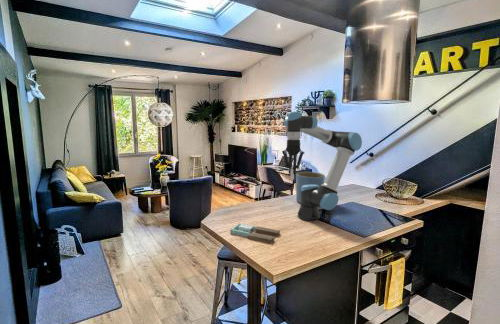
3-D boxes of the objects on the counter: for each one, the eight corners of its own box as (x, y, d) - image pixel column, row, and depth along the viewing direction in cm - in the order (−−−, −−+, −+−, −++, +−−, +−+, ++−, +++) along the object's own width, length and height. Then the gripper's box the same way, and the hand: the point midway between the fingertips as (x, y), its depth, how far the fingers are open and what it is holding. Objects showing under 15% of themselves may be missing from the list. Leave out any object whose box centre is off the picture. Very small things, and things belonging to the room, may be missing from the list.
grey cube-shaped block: (241, 230, 163) (241, 224, 162) (247, 231, 161) (247, 225, 160) (238, 232, 159) (238, 226, 158) (244, 234, 157) (244, 227, 157)
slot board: (257, 231, 164) (257, 226, 163) (279, 235, 158) (279, 230, 157) (247, 239, 151) (247, 234, 151) (271, 245, 145) (271, 239, 145)
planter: (305, 207, 209) (306, 178, 206) (290, 199, 230) (291, 172, 226) (329, 204, 218) (330, 176, 214) (312, 197, 239) (313, 171, 235)
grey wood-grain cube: (247, 231, 161) (247, 225, 160) (253, 233, 159) (253, 226, 159) (244, 234, 157) (244, 227, 157) (250, 235, 156) (250, 228, 155)
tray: (239, 228, 167) (239, 223, 167) (256, 231, 162) (256, 226, 162) (230, 234, 158) (230, 229, 157) (248, 238, 152) (248, 233, 152)
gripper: (280, 139, 154) (279, 179, 158) (303, 140, 149) (301, 181, 152) (284, 138, 161) (283, 177, 164) (306, 139, 155) (304, 179, 159)
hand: (292, 179), depth 158 cm, fingers closed
